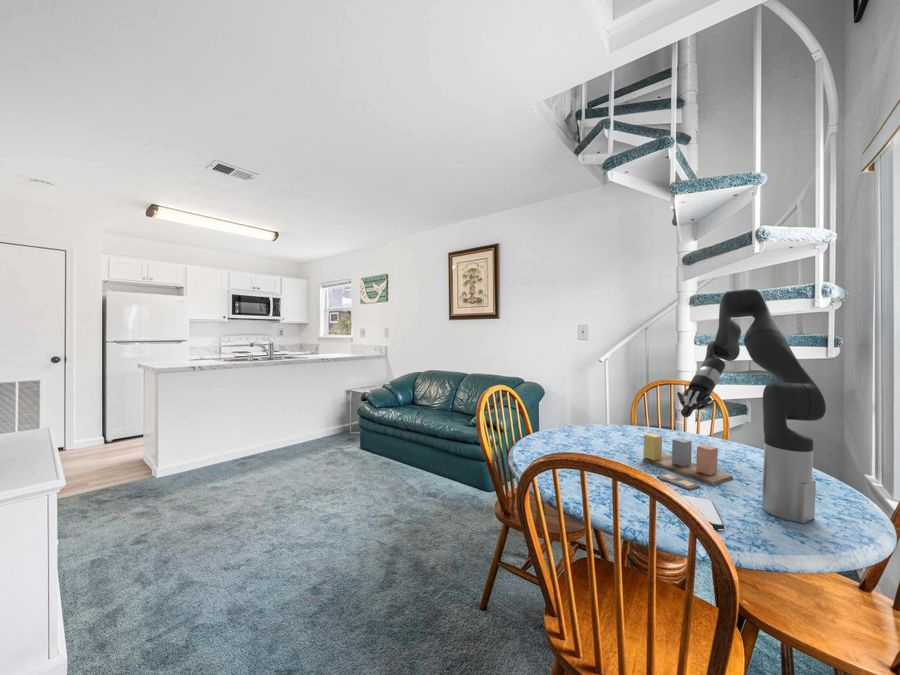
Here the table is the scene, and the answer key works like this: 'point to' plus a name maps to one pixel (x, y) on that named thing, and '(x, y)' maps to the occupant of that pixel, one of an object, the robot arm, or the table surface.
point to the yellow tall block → (652, 446)
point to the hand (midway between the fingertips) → (684, 415)
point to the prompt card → (678, 481)
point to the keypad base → (690, 470)
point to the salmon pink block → (706, 459)
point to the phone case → (707, 510)
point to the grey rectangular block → (681, 451)
